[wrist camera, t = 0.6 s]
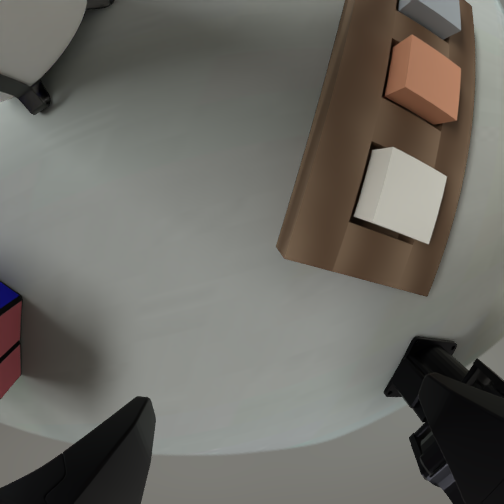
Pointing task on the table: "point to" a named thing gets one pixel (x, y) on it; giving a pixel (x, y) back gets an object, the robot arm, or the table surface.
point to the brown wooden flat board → (371, 138)
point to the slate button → (434, 15)
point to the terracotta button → (424, 81)
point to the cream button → (401, 194)
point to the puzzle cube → (9, 338)
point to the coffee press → (36, 44)
